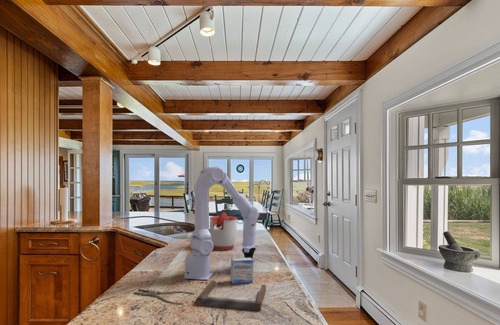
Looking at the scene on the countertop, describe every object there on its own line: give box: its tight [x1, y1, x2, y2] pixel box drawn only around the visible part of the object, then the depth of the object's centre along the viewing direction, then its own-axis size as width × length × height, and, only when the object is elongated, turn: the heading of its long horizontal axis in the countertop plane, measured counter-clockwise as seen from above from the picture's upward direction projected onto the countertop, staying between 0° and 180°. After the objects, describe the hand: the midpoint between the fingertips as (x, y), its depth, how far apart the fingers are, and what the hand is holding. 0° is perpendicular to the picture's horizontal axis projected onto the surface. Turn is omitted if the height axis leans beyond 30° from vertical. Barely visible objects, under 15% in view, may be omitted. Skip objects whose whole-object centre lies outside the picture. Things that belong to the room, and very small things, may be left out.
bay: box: [196, 280, 267, 311], centre depth 98 cm, size 20×16×2 cm
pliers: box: [133, 288, 195, 306], centre depth 96 cm, size 10×1×20 cm
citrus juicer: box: [209, 212, 238, 251], centre depth 165 cm, size 16×17×20 cm
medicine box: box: [230, 257, 254, 285], centre depth 113 cm, size 8×4×9 cm, turn 105°
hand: (248, 265), depth 129 cm, fingers closed
